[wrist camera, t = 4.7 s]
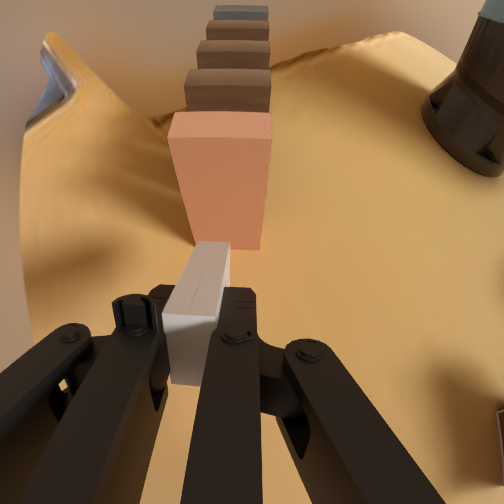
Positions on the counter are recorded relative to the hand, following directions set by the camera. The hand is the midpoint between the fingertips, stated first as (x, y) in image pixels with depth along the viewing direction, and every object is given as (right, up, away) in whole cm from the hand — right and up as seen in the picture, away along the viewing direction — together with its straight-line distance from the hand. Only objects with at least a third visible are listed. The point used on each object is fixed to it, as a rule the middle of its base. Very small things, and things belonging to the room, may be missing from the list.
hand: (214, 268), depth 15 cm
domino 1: (0, +2, +10) cm, 11 cm away
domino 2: (0, +6, +12) cm, 14 cm away
